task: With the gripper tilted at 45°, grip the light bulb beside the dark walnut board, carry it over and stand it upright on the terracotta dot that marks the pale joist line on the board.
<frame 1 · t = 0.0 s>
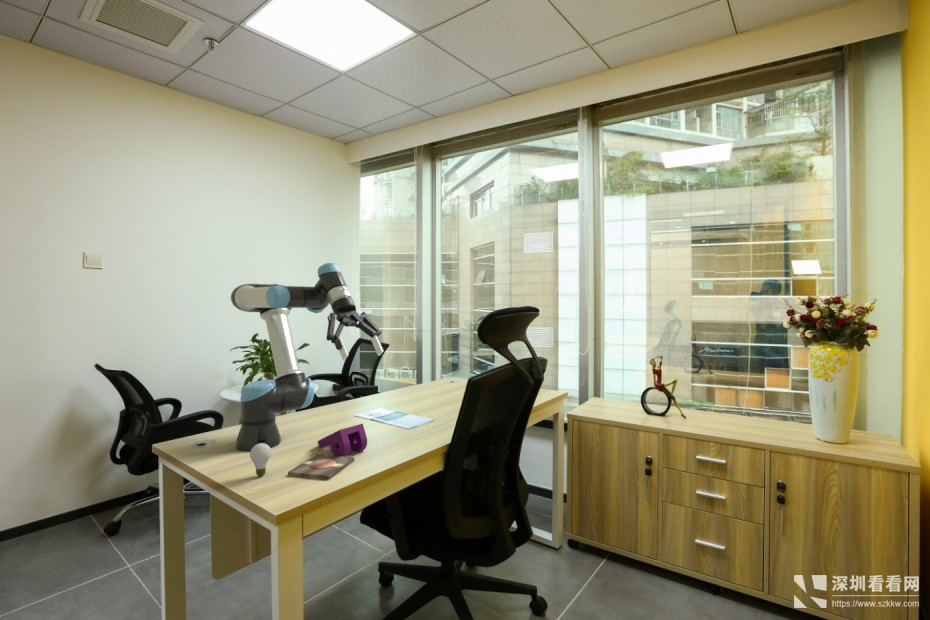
hand: (363, 355, 142), 36 cm above the table, fingers open, 13 cm apart
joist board: (322, 467, 141), on the table
light bulb: (260, 476, 134), on the table
mounting bracket: (339, 451, 158), on the table
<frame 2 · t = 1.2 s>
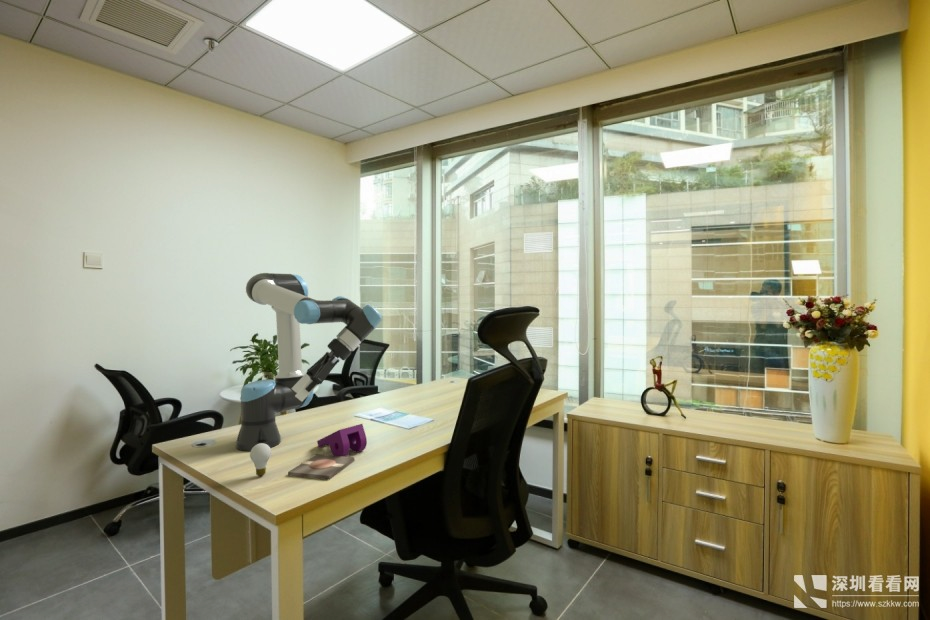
hand: (296, 395, 139), 24 cm above the table, fingers open, 13 cm apart
nothing on the table moved.
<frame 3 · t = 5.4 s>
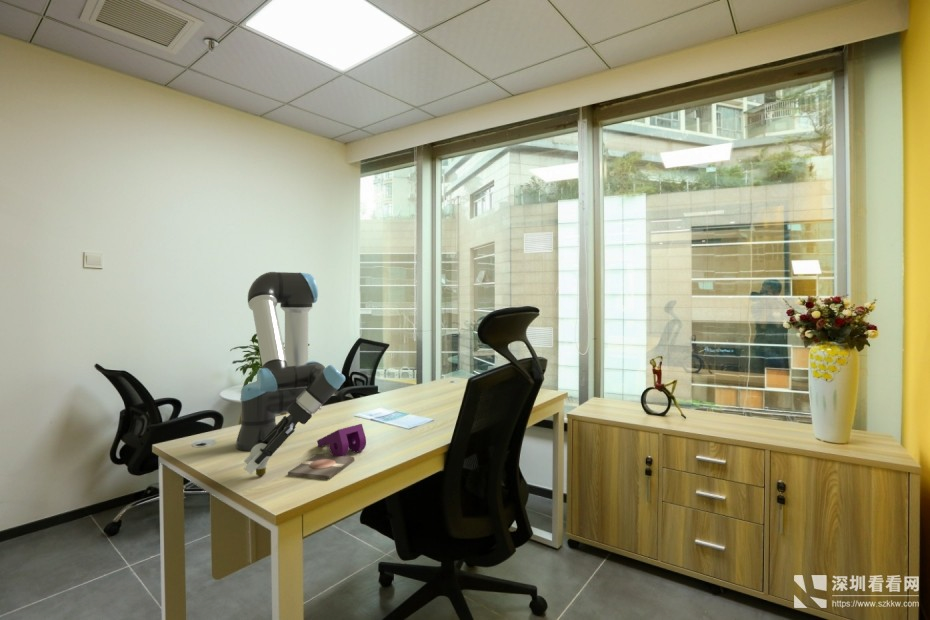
hand: (247, 467, 133), 3 cm above the table, fingers closed on light bulb, 6 cm apart
light bulb: (260, 476, 134), on the table, touching gripper
everything else where it was.
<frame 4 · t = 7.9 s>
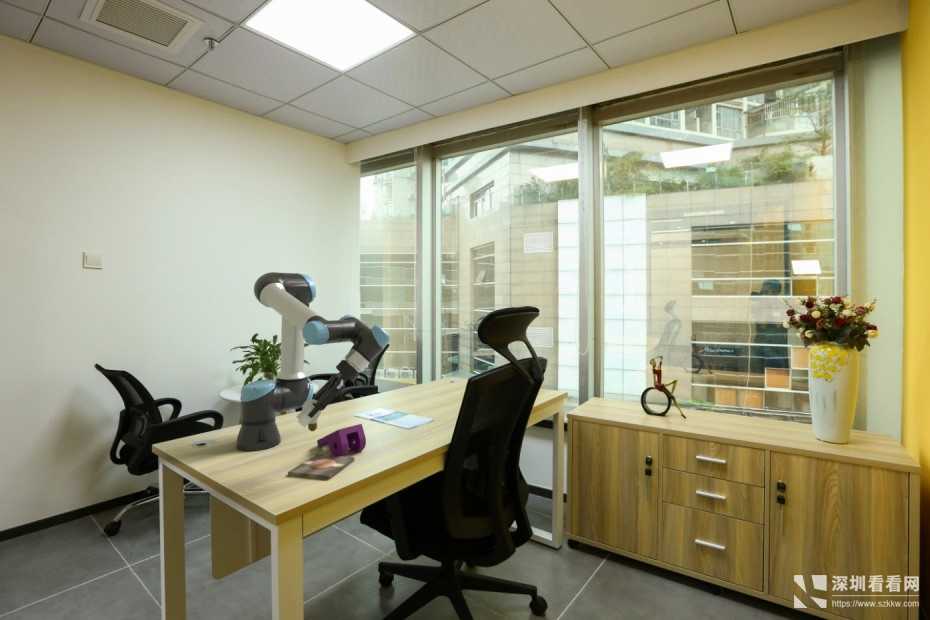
hand: (300, 421, 137), 16 cm above the table, fingers closed on light bulb, 6 cm apart
light bulb: (312, 431, 139), point 12 cm above the table, touching gripper
everything else where it was.
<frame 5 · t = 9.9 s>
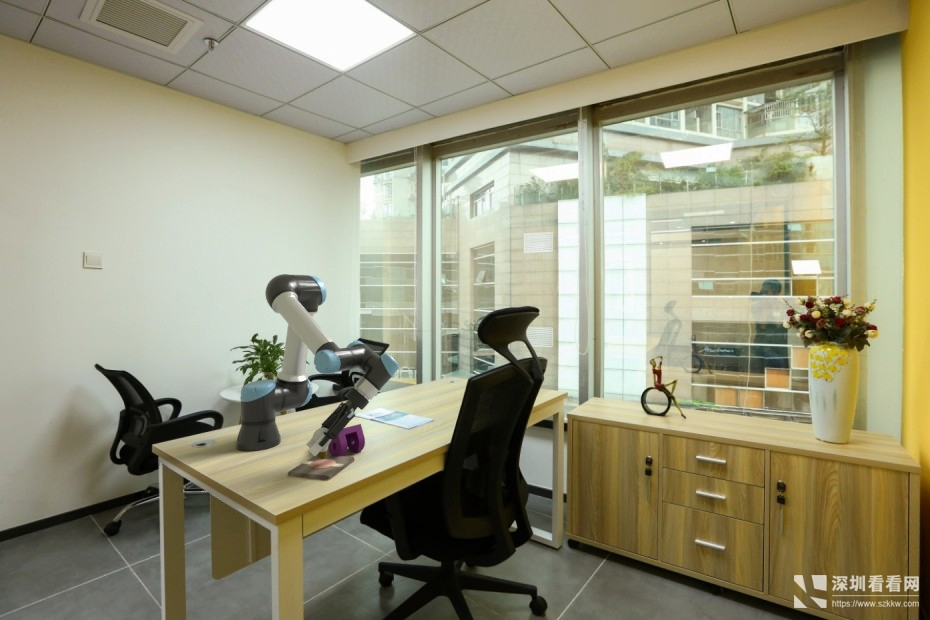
hand: (310, 450, 139), 6 cm above the table, fingers closed on light bulb, 6 cm apart
light bulb: (322, 459, 141), point 3 cm above the table, touching gripper
everything else where it was.
when the fingers open (6 cm above the table, at t = 10.2 s): light bulb drops 1 cm, resting on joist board.
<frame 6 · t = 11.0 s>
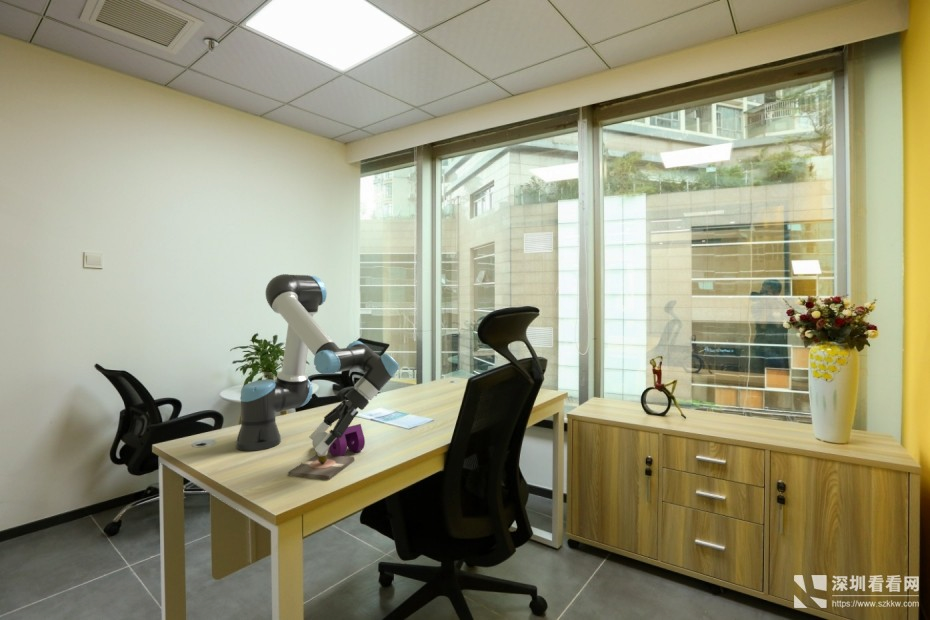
hand: (314, 445, 140), 8 cm above the table, fingers open, 13 cm apart
light bulb: (322, 463, 141), point 1 cm above the table, touching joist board
everything else where it was.
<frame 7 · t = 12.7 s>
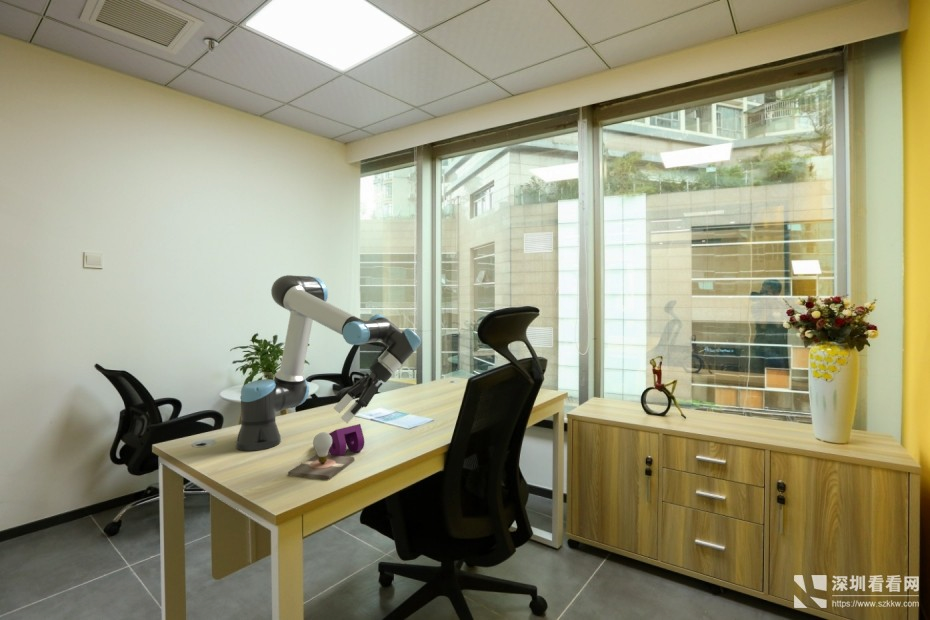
hand: (339, 415, 144), 16 cm above the table, fingers open, 13 cm apart
nothing on the table moved.
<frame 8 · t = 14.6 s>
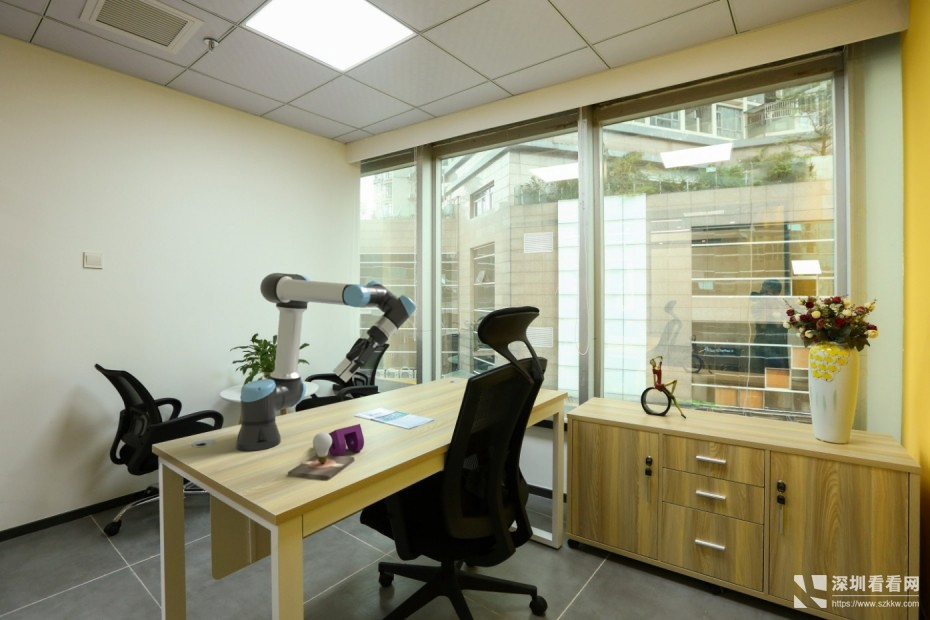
hand: (338, 376, 151), 28 cm above the table, fingers open, 13 cm apart
nothing on the table moved.
at the end: light bulb inside the target area (0.1 cm from its centre), point 1.2 cm above the table; light bulb tilted 0°; the gripper is holding nothing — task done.
